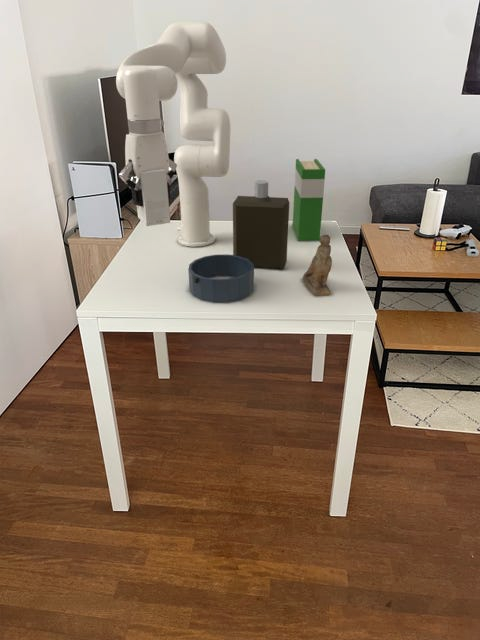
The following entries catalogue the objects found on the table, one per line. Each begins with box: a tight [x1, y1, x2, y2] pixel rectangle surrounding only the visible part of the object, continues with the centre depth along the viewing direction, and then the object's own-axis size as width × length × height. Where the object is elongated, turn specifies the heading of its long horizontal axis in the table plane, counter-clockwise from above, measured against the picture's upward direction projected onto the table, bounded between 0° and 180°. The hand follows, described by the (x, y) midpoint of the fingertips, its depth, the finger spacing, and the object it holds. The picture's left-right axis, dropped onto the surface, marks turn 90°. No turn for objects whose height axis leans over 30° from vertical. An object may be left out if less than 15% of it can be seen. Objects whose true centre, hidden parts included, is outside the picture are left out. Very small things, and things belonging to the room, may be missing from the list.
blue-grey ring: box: [187, 253, 255, 304], centre depth 130 cm, size 18×20×6 cm
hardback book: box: [292, 158, 326, 242], centre depth 166 cm, size 18×7×24 cm, turn 1°
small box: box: [136, 169, 171, 227], centre depth 119 cm, size 8×6×13 cm
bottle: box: [232, 179, 290, 270], centre depth 140 cm, size 8×16×25 cm, turn 80°
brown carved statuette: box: [302, 234, 333, 297], centre depth 127 cm, size 12×6×18 cm, turn 6°
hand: (152, 201), depth 120 cm, fingers closed on small box, 7 cm apart
